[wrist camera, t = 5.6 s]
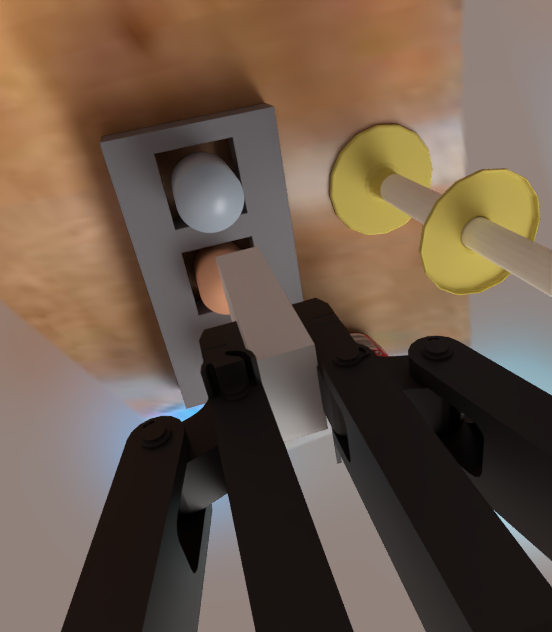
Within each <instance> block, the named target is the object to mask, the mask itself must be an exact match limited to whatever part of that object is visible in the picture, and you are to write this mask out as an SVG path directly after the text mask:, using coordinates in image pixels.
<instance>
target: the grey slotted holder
mask: <svg viewBox="0 0 552 632" xmlns="http://www.w3.org/2000/svg"><path fill="white" fill-rule="evenodd" d="M226 138H228V141H229V146H230V151H231V156H232V161H233V166H234V171H235V176H236V177H237V178H238V180H239V181H240V183H241V185H242V188H243V192H244V206H243V210H242V212H241V214H240V216H239V218H238V219H237V220H236V221H235V222H234V223H233V224H232V225H231V226H230V227H228V228H227V229H225V230H222V231H219V232H215V233H205V232H200V231H197V230H195V229H193V228H191V227H190V226H188V225H187V224H186V223H185V222H184V221H183V219H182V218H181V217H180V218H176V219H173V218H172V215H171V211H170V208H169V204H168V200H167V197H166V193H165V189H164V186H163V182H162V179H161V175H160V171H159V168H158V164H157V160H156V157H155V153H160V152H165V151H169V150H174V149H179V148H183V147H188V146H193V145H197V144H202V143H207V142H212V141H216V140H221V139H226ZM100 146H101V149H102V152H103V155H104V158H105V162H106V165H107V168H108V171H109V174H110V177H111V180H112V183H113V186H114V189H115V192H116V195H117V198H118V201H119V204H120V207H121V210H122V213H123V216H124V220H125V223H126V226H127V229H128V232H129V235H130V238H131V241H132V244H133V247H134V250H135V253H136V256H137V259H138V262H139V265H140V268H141V271H142V274H143V278H144V281H145V284H146V287H147V290H148V293H149V296H150V299H151V302H152V305H153V308H154V311H155V314H156V317H157V320H158V323H159V326H160V329H161V332H162V336H163V339H164V342H165V345H166V348H167V351H168V354H169V357H170V360H171V363H172V366H173V369H174V372H175V375H176V378H177V381H178V384H179V387H180V390H181V394H182V397H183V400H184V403H185V406H186V409H187V408H191V407H194V406H198V405H201V404H205V403H206V402H207V400H208V395H207V392H206V389H205V386H204V382H203V379H202V376H201V373H200V371H201V365H202V364H203V358H202V353H201V348H200V344H199V339H200V337H201V335H202V333H203V331H204V330H205V329H208V328H212V327H216V326H219V325H223V324H227V323H230V322H232V320H231V316H230V314H229V315H225V314H219V313H216V312H214V311H212V310H210V309H209V308H208V307H207V306H206V305H205V304H204V303H203V301H202V299H201V300H197V301H195V298H194V294H193V291H192V287H191V284H190V280H189V276H188V273H187V269H186V265H185V262H184V258H183V255H182V253H184V252H188V251H192V250H196V249H200V248H205V247H209V246H213V245H217V244H221V243H225V242H229V241H233V240H238V239H242V238H246V237H248V241H249V246H250V248H252V247H256V246H257V247H258V248H259V250H260V252H261V253H262V255H263V257H264V258H265V260H266V262H267V264H268V265H269V267H270V269H271V270H272V272H273V274H274V276H275V277H276V279H277V281H278V282H279V284H280V286H281V288H282V289H283V291H284V293H285V294H286V296H287V298H288V300H289V301H290V303H291V304H295V303H299V302H302V301H303V296H302V289H301V282H300V276H299V269H298V262H297V256H296V249H295V242H294V236H293V229H292V222H291V216H290V209H289V202H288V196H287V189H286V182H285V176H284V169H283V163H282V156H281V149H280V143H279V136H278V129H277V123H276V116H275V109H274V106H271V105H269V104H266V103H263V104H258V105H253V106H248V107H243V108H239V109H234V110H229V111H224V112H219V113H214V114H209V115H205V116H200V117H195V118H190V119H185V120H180V121H176V122H171V123H166V124H161V125H156V126H151V127H146V128H142V129H137V130H132V131H127V132H122V133H117V134H112V135H108V136H103V137H102V138H101V140H100Z"/></svg>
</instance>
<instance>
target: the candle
mask: <svg viewBox="0 0 552 632" xmlns="http://www.w3.org/2000/svg"><path fill="white" fill-rule="evenodd" d="M432 170H433V169H432V165H431V160H430V155H429V151H428V148H427V147H426V146H425V144H424V143H423V142H422V140H421V139H420V138H419V136H418V135H417V134H416V133H415V132H413V131H411V130H409V129H407V128H405V127H402V126H400V125H398V124H390V125H375V126H373V127H371V128H369V129H367V130H365V131H363V132H361V133H359V134H357V135H355V137H354V138H353V139H352V140H351V141H350V142H349V143H348V144H347V145H346V146H345V147H344V148H343V149H342V150H341V151H340V153H339V156H338V158H337V160H336V162H335V165H334V167H333V169H332V172H331V177H330V195H329V196H330V199H331V201H332V204H333V207H334V210H335V213H336V215H337V216H338V217H339V218H340V219H341V220H342V221H343V222H344V223H345V224H346V225H347V227H348V228H350V229H352V230H355V231H357V232H360V233H363V234H366V235H373V234H386V233H388V232H390V231H392V230H394V229H396V228H399V227H401V226H403V225H405V224H406V223H407V222H408V221H409V220H410V219H411V218H414V219H416V220H417V221H419V222H421V223H422V224H424V225H423V228H422V234H421V241H420V247H419V253H420V257H421V260H422V264H423V268H424V272H425V274H426V275H427V276H428V277H429V278H430V279H431V280H432V282H433V283H434V284H435V285H436V286H437V287H438V288H439V289H441V290H444V291H447V292H450V293H453V294H456V295H465V294H474V293H481V292H483V291H485V290H487V289H489V288H491V287H493V286H495V285H497V284H499V283H501V282H502V281H503V280H504V279H505V278H507V277H508V275H510V274H513V275H515V276H517V277H518V278H520V279H522V280H523V281H525V282H527V283H528V284H530V285H532V286H533V287H535V288H537V289H538V290H540V291H542V292H543V293H545V294H547V295H548V296H550V297H552V250H550V249H548V248H546V247H544V246H542V245H539V244H538V243H535V242H534V240H535V236H536V232H537V229H538V225H539V221H540V213H539V204H538V196H537V194H536V193H535V191H534V190H533V188H532V186H531V185H530V183H529V182H528V180H527V179H526V178H524V177H522V176H520V175H518V174H516V173H514V172H512V171H510V170H508V169H504V168H503V169H482V170H479V171H477V172H475V173H473V174H471V175H468V176H466V177H464V178H462V179H460V180H458V181H456V182H455V183H454V184H453V185H452V186H451V187H450V188H449V189H448V190H447V191H446V192H445V193H444V194H443V195H442V194H440V193H437V192H435V191H433V190H431V189H430V183H431V177H432Z"/></svg>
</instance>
